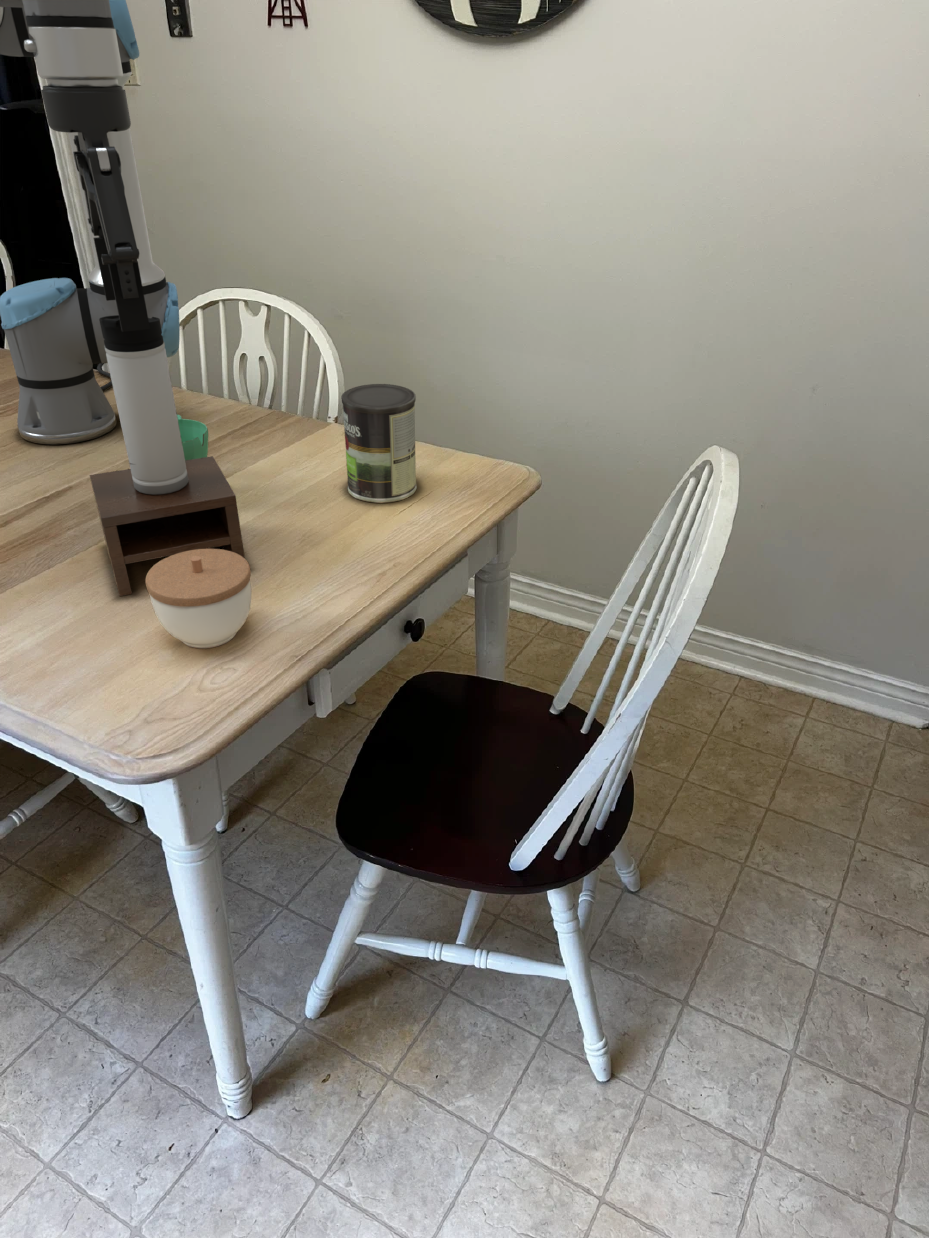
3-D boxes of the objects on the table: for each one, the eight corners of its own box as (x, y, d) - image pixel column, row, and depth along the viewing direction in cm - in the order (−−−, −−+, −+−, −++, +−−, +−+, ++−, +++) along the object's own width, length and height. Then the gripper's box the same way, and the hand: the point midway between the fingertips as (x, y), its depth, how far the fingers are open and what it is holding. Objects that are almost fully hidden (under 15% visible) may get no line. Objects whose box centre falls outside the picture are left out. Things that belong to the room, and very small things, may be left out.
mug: (219, 508, 122) (208, 440, 117) (145, 516, 120) (131, 447, 115) (215, 468, 134) (205, 405, 129) (148, 474, 132) (136, 410, 127)
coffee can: (358, 508, 123) (352, 411, 115) (340, 479, 131) (333, 387, 123) (427, 497, 126) (425, 402, 118) (405, 470, 134) (402, 380, 127)
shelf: (107, 548, 112) (89, 475, 107) (223, 526, 118) (212, 456, 112) (119, 596, 102) (100, 518, 97) (246, 570, 108) (235, 495, 102)
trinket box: (137, 639, 95) (119, 564, 90) (211, 597, 102) (199, 526, 97) (205, 672, 90) (191, 595, 85) (278, 626, 97) (269, 552, 92)
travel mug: (121, 492, 103) (82, 318, 92) (155, 471, 108) (122, 304, 97) (166, 500, 101) (132, 323, 90) (199, 478, 106) (170, 309, 95)
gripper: (32, 78, 90) (79, 290, 102) (48, 89, 72) (103, 348, 83) (108, 78, 93) (145, 285, 105) (142, 89, 74) (183, 340, 86)
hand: (127, 313), depth 94 cm, fingers open, 13 cm apart
